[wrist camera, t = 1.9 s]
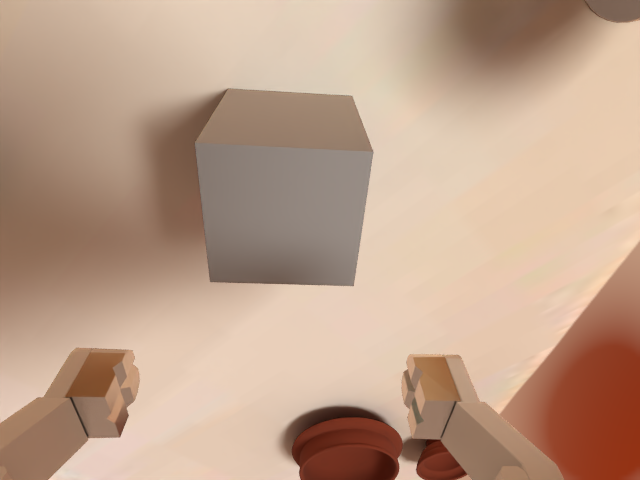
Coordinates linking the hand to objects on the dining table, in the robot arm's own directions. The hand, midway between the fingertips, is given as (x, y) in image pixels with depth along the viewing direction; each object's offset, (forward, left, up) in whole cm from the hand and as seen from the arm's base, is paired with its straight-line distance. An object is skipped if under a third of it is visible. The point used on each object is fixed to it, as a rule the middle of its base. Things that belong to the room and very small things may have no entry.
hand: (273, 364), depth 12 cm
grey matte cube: (0, 0, -17) cm, 17 cm away
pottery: (+33, +11, -17) cm, 39 cm away
